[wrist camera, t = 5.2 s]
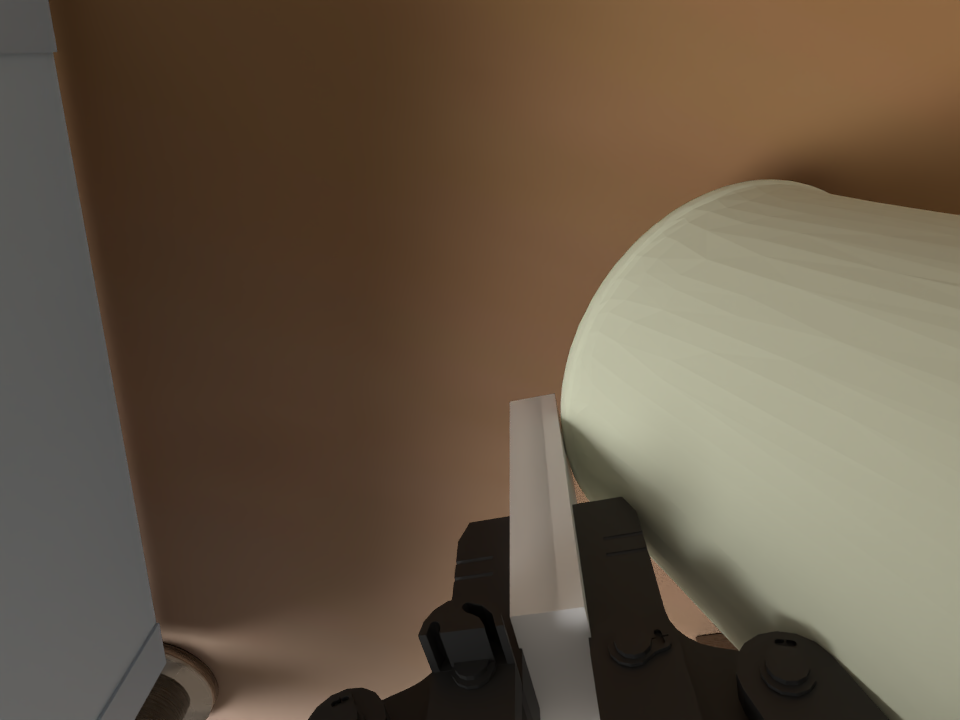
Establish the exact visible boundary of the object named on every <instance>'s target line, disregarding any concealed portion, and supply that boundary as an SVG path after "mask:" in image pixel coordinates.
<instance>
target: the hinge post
mask: <svg viewBox="0 0 960 720" xmlns="http://www.w3.org/2000/svg"><path fill="white" fill-rule="evenodd" d="M163 647H164V652H165V658H166V664H165V666H164V668H163V670H162V671H161V673H160V675H159V677H158V679H157V680H156V682H155V684H154V686H153V688H152V689H151V691H150V693H149V695H148V697H147V698H146V700H145V702H144V704H143V706H142V707H141V709H140V711H139V713H138V715H137V716H136V718H135V720H206V719H207V718H208V716H209V714H210V712H211V710H212V708H213V705H214V703H215V701H216V699H217V695H218V686H217V682H216V679H215V677H214V675H213V674H212V672H211V671H210V670H209V668H208V667H207V666H206V665H205V664H204V663H203V662H201V661H200V660H199V659H198V658H196V657H195V656H193V655H192V654H190V653H188V652H186V651H184V650H182V649H180V648H177V647H174V646H172V645H168V644H164V643H163Z"/></svg>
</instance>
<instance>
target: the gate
mask: <svg viewBox="0 0 960 720" xmlns="http://www.w3.org/2000/svg"><path fill="white" fill-rule="evenodd" d="M53 52H57V46H56V41H55V35H54V30H53V24H52V18H51V13H50V7H49V2H48V0H0V720H135V718H136V716H137V715H138V713H139V711H140V709H141V707H142V706H143V704H144V702H145V700H146V698H147V697H148V695H149V693H150V691H151V689H152V688H153V686H154V684H155V682H156V680H157V679H158V677H159V675H160V673H161V671H162V670H163V668H164V666H165V664H166V658H165V652H164V647H163V641H162V636H161V630H160V624H159V623H156V618H155V613H154V607H153V602H152V596H151V591H150V585H149V580H148V574H147V568H146V563H145V557H144V552H143V546H142V541H141V535H140V530H139V524H138V519H137V513H136V508H135V502H134V497H133V491H132V486H131V480H130V475H129V469H128V464H127V458H126V453H125V447H124V442H123V436H122V430H121V425H120V419H119V414H118V408H117V403H116V397H115V392H114V386H113V381H112V375H111V370H110V364H109V359H108V353H107V348H106V342H105V337H104V331H103V326H102V320H101V315H100V309H99V303H98V298H97V292H96V287H95V281H94V276H93V270H92V265H91V259H90V254H89V248H88V243H87V237H86V232H85V226H84V221H83V215H82V210H81V204H80V199H79V193H78V188H77V182H76V177H75V171H74V165H73V160H72V154H71V149H70V143H69V138H68V132H67V127H66V121H65V116H64V110H63V105H62V99H61V94H60V88H59V83H58V77H57V72H56V66H55V61H54V55H53Z"/></svg>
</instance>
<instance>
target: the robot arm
mask: <svg viewBox="0 0 960 720" xmlns="http://www.w3.org/2000/svg"><path fill="white" fill-rule="evenodd" d="M456 563H457V565H456V568H455V582H454V587H453V597H452V600H451V601H448V602H446V603H445V604H443V605H441V606H440V607H438V608H437V609H435V610H434V611H433V612H432V613H431V614H430V615H429V616H428V618H427V619H426V620H425V621H424V622H423V625H422V627H421V630H420V633H419V635H418V637H419V639H420V642H421V644H422V647H423V650H424V652H425V655H426V657H427V660H428V663H429V665H430V668H431V670H432V673H431V674H430V675H428V676H427V677H426V678H425V679H424V680H422V681H421V682H419V683H418V684H416V685H414V686H412V687H410V688H408V689H406V690H404V691H402V692H399V693H397V694H395V695H393V696H390V697H388V698H386V699H384V700H381V699H380V698H379V696H378V695H377V694H376V693H375V692H373V691H370V690H368V689H365V688H352V689H346V690H343V691H341V692H339V693H336V694H334V695H332V696H330V697H329V698H328V699H327V700H325V701H324V702H323V703H322V704H320V705H319V706H318V707H317V708H316V709H315V711H314V712H313V713H312V715H311V716H310V717H309V719H308V720H889V718H888V717H887V716H886V715H885V714H884V713H883V712H882V711H881V710H880V708H879V707H878V706H877V705H876V704H875V703H874V702H873V701H872V699H871V698H870V697H869V696H868V695H867V694H866V693H865V692H864V691H863V689H862V688H861V687H860V686H859V685H858V684H857V683H856V682H855V681H854V679H853V678H852V677H851V676H850V675H849V674H848V673H847V672H846V670H845V669H844V668H843V667H842V666H841V665H840V664H839V663H838V662H837V660H836V659H835V658H834V657H833V656H832V655H831V654H830V653H829V652H827V651H826V650H825V649H824V648H823V647H821V646H820V645H819V644H818V643H816V642H815V641H812V640H810V639H808V638H805V637H803V636H801V635H798V634H795V633H787V632H779V631H774V632H768V633H763V634H758V635H756V636H755V637H753V638H752V639H750V640H748V641H747V642H745V643H744V644H743V646H742V648H741V649H740V651H737V650H731V649H724V648H717V647H712V646H708V645H704V644H700V643H698V642H696V641H694V640H692V639H690V638H688V637H686V636H685V635H684V634H682V633H681V632H680V631H678V630H677V629H676V628H675V627H674V625H673V624H672V623H671V622H670V621H669V619H668V616H667V614H666V612H665V609H664V606H663V602H662V599H661V595H660V592H659V588H658V584H657V581H656V577H655V574H654V570H653V567H652V563H651V560H650V556H649V553H648V550H647V546H646V542H645V539H644V535H643V532H642V528H641V524H640V521H639V517H638V514H637V511H636V510H635V509H634V508H633V507H632V506H631V505H630V504H629V503H628V502H627V501H626V500H625V499H624V498H623V497H616V498H610V499H603V500H597V501H591V502H585V503H579V504H577V499H576V493H575V486H574V481H573V477H572V472H571V467H570V464H569V461H568V458H567V455H566V452H565V447H564V442H563V436H562V429H561V421H560V416H559V412H558V407H557V402H556V398H555V393H554V394H549V395H544V396H537V397H532V398H527V399H521V400H516V401H511V402H510V516H508V517H502V518H496V519H490V520H484V521H478V522H471V523H469V525H468V527H467V528H466V530H465V532H464V533H463V535H462V536H461V538H460V540H459V541H458V549H457V559H456Z"/></svg>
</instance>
